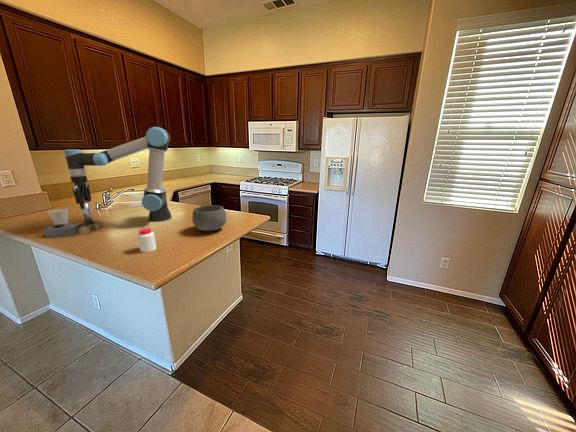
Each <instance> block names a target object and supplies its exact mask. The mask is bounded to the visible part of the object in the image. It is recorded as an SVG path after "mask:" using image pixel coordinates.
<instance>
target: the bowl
mask: <svg viewBox="0 0 576 432" xmlns="http://www.w3.org/2000/svg"><path fill="white" fill-rule="evenodd" d="M191 219H192V223H193V225H194V227H195V228H197V229H198V230H200V231H203V232H213V231H217V230H220V229H221V228H222V227H224V226H225V224H226V223H227V220H228V219H227V214H226V210H225V208H224V206H222V205H216V204H213V205H212V204H204V205H200V206H197V207H194V208H193V211H192V218H191Z"/></svg>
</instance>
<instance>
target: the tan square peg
mask: <svg viewBox="0 0 576 432" xmlns="http://www.w3.org/2000/svg"><path fill="white" fill-rule="evenodd" d="M76 231H77V235H81V234H83V235H84V234H91V233H92V232H93V231H92V227H91V225H89V226H87V227H77V228H76Z"/></svg>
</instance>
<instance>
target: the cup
mask: <svg viewBox="0 0 576 432" xmlns="http://www.w3.org/2000/svg"><path fill="white" fill-rule="evenodd" d="M47 214H48V215H49V217H50V218H51V221H52V222H53V223H54V224H53V225H56V224H69V209H68V208H57V209H51V210H48V211H47Z"/></svg>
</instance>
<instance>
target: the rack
mask: <svg viewBox="0 0 576 432" xmlns="http://www.w3.org/2000/svg"><path fill="white" fill-rule="evenodd" d="M81 223H82V224H83V225H81V227H87V226H89V225H91V227H92V232H94V231H95V232H97V231H99V230H100V229H102V228H103V227H104V225H103V221H102V220H95V221H94V220H93V222H92V223H85V221H83V222H81Z"/></svg>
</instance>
